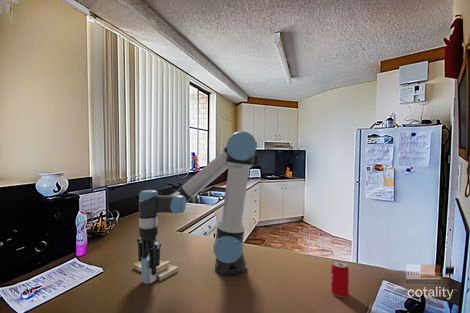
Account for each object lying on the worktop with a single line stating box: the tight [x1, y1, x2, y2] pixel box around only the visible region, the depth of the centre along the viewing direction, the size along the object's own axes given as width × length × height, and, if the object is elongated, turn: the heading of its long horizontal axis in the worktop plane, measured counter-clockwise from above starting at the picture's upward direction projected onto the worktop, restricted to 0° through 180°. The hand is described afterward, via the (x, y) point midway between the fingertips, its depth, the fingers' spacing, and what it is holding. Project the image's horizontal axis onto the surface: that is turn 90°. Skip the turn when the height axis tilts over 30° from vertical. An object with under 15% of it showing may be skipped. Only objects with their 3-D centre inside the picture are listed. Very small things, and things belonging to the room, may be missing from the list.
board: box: [132, 260, 179, 282], centre depth 116 cm, size 20×10×2 cm, turn 55°
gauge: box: [140, 255, 171, 285], centre depth 109 cm, size 4×13×10 cm, turn 146°
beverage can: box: [330, 260, 350, 298], centre depth 96 cm, size 6×6×12 cm
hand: (148, 279), depth 106 cm, fingers closed on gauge, 4 cm apart
